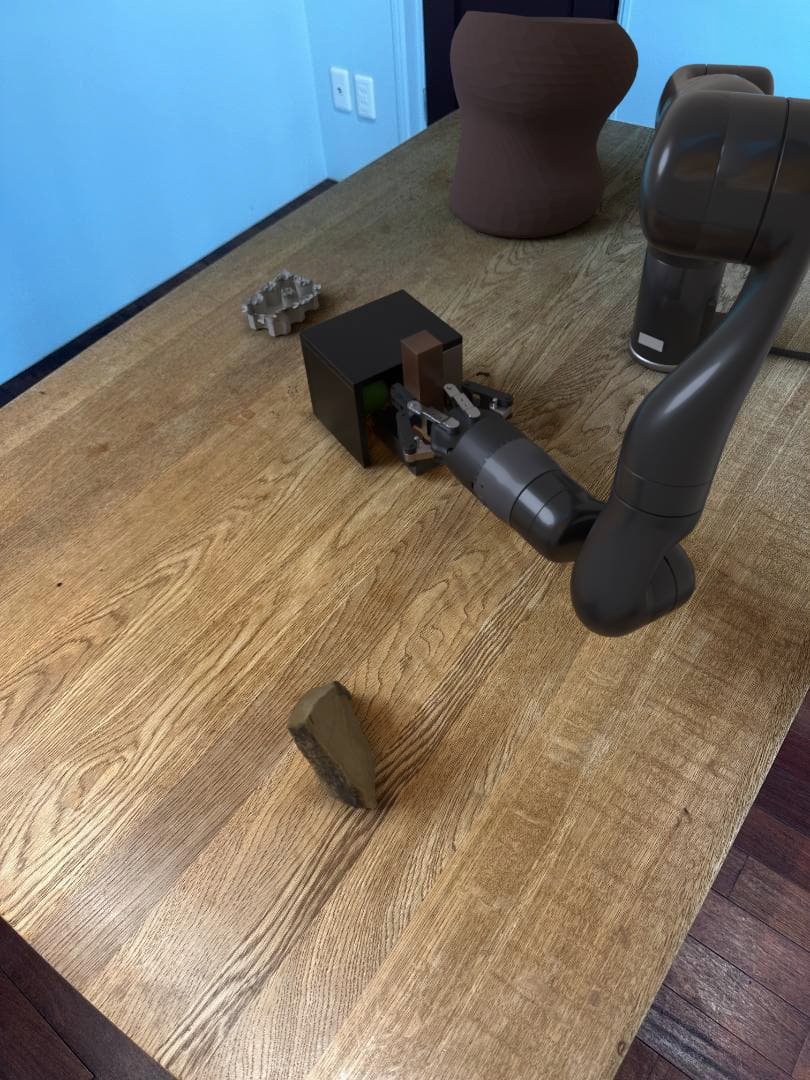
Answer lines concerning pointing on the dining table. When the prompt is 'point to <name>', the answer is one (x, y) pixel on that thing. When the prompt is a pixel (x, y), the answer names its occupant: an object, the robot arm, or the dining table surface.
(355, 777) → the rock
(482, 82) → the vase
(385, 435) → the post on dark base
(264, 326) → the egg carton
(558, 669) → the dining table surface
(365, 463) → the black open box
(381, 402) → the ball
